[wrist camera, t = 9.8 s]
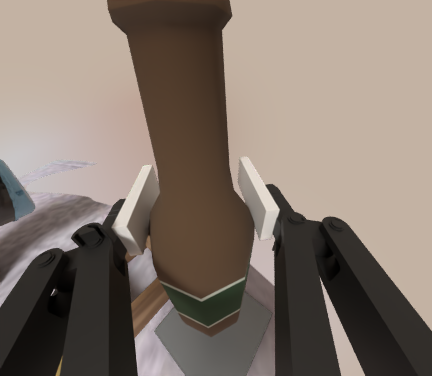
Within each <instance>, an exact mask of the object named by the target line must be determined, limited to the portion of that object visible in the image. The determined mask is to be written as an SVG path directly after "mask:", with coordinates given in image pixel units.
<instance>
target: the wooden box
mask: <svg viewBox="0 0 432 376" xmlns="http://www.w3.org/2000/svg"><path fill="white" fill-rule="evenodd" d="M145 248H149V249H150V250H151V242H150V234H148V238H147V242H146V245H145ZM151 251H152V250H151ZM135 256H137V255H135ZM135 256H130V254H129V253H128V252H127V253H126V256H125V258H126V260H127V263H128V262H129V261H131V260H132V259H133V258H134V257H135ZM168 299H169V296H168V295H167V293H166V291H165V290H164V288H163V286H162V284H161V283H160V281H159V279H158V277H157V278H156V279H155V280H154V281H153V282H152V283H151V284H150V285H149V286H148V287H147V288H146V289H145V290H144V291H143V292H142V293H141V294H140V295H139V296H138V297H137V298H136V299H135V300H134V301H133V302H132V303H131V308H132V319H133V330H134V338H135V337H136V336H137V335H138V334H139V333H140V331H141V330H142V329H143V328H144V327H145V326H146V325H147V323H148V322H149V321H150V320H151V319H152V318H153V317H154V315H155V314H156V313H157V312H158V311H159V310H160V309H161V307H162V306H163V305H164V304H165V303H166V302H167V301H168Z"/></svg>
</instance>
